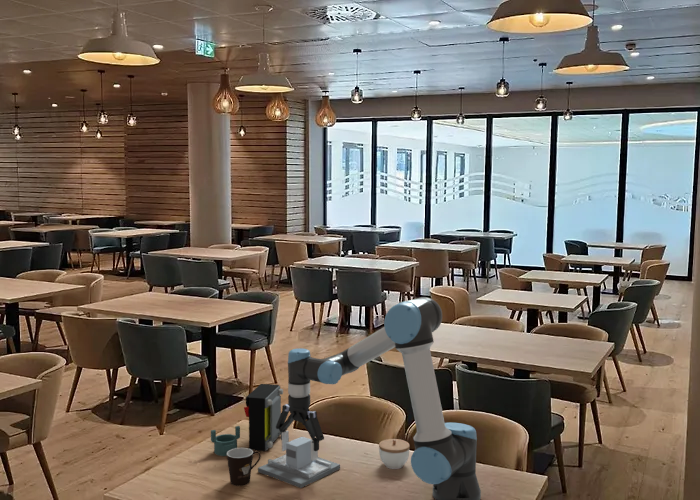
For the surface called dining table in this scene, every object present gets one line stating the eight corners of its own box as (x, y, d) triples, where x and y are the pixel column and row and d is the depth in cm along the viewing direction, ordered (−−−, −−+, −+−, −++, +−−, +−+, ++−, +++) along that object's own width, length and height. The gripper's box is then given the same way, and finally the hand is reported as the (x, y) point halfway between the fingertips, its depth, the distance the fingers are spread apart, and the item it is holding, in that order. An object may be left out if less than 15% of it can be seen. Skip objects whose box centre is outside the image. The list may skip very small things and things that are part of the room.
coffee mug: (228, 488, 224) (228, 459, 223) (225, 478, 232) (225, 449, 231) (264, 484, 227) (263, 455, 226) (260, 474, 236) (260, 445, 235)
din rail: (331, 467, 237) (331, 463, 237) (308, 479, 228) (308, 474, 228) (290, 454, 249) (290, 449, 249) (267, 464, 240) (267, 459, 240)
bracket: (209, 454, 253) (208, 430, 252) (223, 445, 261) (222, 422, 260) (230, 458, 249) (229, 434, 248) (243, 449, 258) (243, 426, 257)
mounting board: (340, 468, 241) (340, 464, 240) (301, 488, 225) (301, 483, 225) (297, 454, 253) (297, 450, 253) (258, 472, 237) (258, 467, 237)
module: (312, 462, 240) (312, 439, 239) (296, 469, 234) (296, 446, 233) (301, 458, 243) (301, 436, 243) (285, 465, 237) (285, 443, 236)
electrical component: (270, 451, 255) (270, 398, 253) (244, 449, 257) (243, 397, 255) (284, 434, 272) (284, 385, 270) (259, 432, 274) (259, 383, 272)
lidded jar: (388, 457, 251) (389, 432, 250) (414, 464, 245) (415, 438, 244) (373, 467, 242) (373, 441, 241) (399, 474, 236) (399, 447, 235)
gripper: (334, 398, 232) (334, 460, 234) (280, 385, 247) (281, 442, 249) (319, 404, 226) (319, 467, 228) (265, 390, 241) (266, 449, 243)
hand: (299, 454), depth 238 cm, fingers open, 13 cm apart
